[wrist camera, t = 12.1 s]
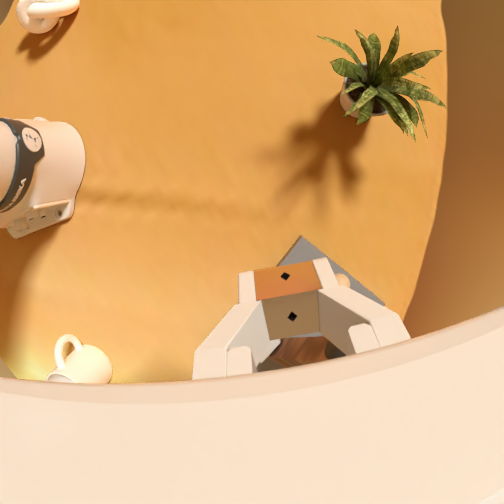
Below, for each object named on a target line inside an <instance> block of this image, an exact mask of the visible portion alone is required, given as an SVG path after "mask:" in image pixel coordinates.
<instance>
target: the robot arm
mask: <svg viewBox="0 0 504 504" xmlns="http://www.w3.org/2000/svg"><path fill="white" fill-rule="evenodd" d="M84 168H85V151H84V146H83V142H82V139H81V137H80V135H79V133H78V132H77V131H76V129H75V128H74V127H72V126H71V125H70V124H68V123H65V122H60V121H57V122H50V121H48V120H47V119H45V118H43V117H36V118H34V119H33V120H26V119H11V118H0V228H6V230H7V231H8V232H9V234H10V235H11V236H12V237H13V238H15V239H16V238H21V237H23V236H26V235H28V234H30V233H33V232H35V231H38V230H40V229H43V228H45V227H48V226H50V225H53V224H56V223H58V222H61V221H63V220H66V219H69V218H70V217H71V216H72V215H73V212H74V203H75V196H76V193H77V190H78V188H79V186H80V183H81V181H82V177H83V173H84ZM60 211H61V212H62V214H60ZM238 294H239V304H235V305H234V306H233V307H232V308H231V309H230V311H229V312H228V313H227V314H226V315H225V317H224V318H223V319H222V320H221V321H220V322H219V324H218V325H217V326H216V327H215V328H214V330H213V331H212V332H211V333H210V334H209V335H208V337H207V338H206V339H205V340H204V341H203V342H202V344H201V345H200V346H199V347H198V348H197V349H196V351H195V356H194V366H193V376H192V380H185V381H170V382H151V383H67V382H49V381H36V380H25V379H15V378H7V377H0V504H504V306H502V307H500V308H497V309H495V310H492V311H490V312H487V313H485V314H482V315H479V316H477V317H474V318H472V319H469V320H466V321H463V322H461V323H458V324H455V325H452V326H450V327H447V328H444V329H441V330H438V331H435V332H432V333H429V334H426V335H422V336H419V337H416V338H413V339H411V338H410V336H409V334H408V332H407V330H406V328H405V326H404V324H403V323H402V321H401V319H400V317H399V315H398V314H397V313H395V312H393V311H391V310H389V309H387V308H386V307H384V306H382V305H380V304H378V303H376V302H374V301H373V300H371V299H369V298H367V297H365V296H363V295H361V294H360V293H358V292H356V291H354V290H352V289H350V288H348V287H346V286H345V285H340V286H339V284H338V281H337V279H336V277H335V275H334V272H333V270H332V268H331V266H330V263H329V261H328V259H327V258H326V257H323V258H319V259H314V260H311V261H306V262H301V263H296V264H291V265H286V266H278V267H271V268H265V269H258V270H254V271H253V270H252V271H246V272H240V273H239V274H238ZM315 332H320V333H321V334H322V335H323V336H324V337H326V338H327V339H328V340H329V341H330V342H331V343H333V344H334V345H335V346H336V347H337V348H338V349H340V350H341V351H342V352H343V353H344V354H345V355H346V356H344V357H339V358H335V359H330V360H325V361H320V362H315V363H310V364H305V365H300V366H294V367H289V368H283V369H277V370H271V371H264V372H257V369H256V367H257V365H258V364H259V362H260V360H261V358H262V356H263V354H264V353H265V351H266V349H267V347H268V345H269V343H270V341H271V340H276V339H282V338H286V337H291V336H297V335H303V334H309V333H315Z"/></svg>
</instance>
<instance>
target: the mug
mask: <svg viewBox="0 0 504 504" xmlns="http://www.w3.org/2000/svg"><path fill="white" fill-rule="evenodd" d="M67 342H71V343H72V344H73V345H74V347H75V350H73V351H72V352H71V353H70V354H69V355H68V356H67V357H66V358H65V359H63V354H62V351H63V347H64V345H65V344H66V343H67ZM54 358H55V362H56V365H57V367H56V368H55V369H54V370H53V371H52V372H51V373H50V374H49V375H48V376H47V379H46V381H49V382H67V383H108V382H109V381H110V379H111V377H112V373H113V370H112V365H111V363H110V361H109V359H108V357H107V356H106V355H105V354H104V353H103V352H102V351H101V350H100V349H98V348H96V347H95V346H92V345H88V344H84V345H82V344H81V342H80V341H79V339H78V338H77V337H75V336H74V335H72V334H65V335H63V336H61V337H60V338H59V339H58V341H57V343H56V345H55V349H54Z"/></svg>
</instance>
